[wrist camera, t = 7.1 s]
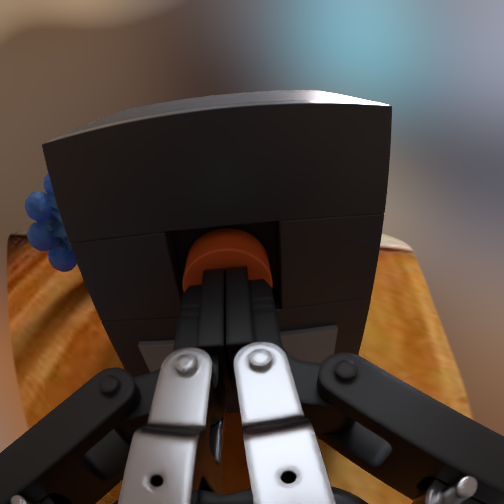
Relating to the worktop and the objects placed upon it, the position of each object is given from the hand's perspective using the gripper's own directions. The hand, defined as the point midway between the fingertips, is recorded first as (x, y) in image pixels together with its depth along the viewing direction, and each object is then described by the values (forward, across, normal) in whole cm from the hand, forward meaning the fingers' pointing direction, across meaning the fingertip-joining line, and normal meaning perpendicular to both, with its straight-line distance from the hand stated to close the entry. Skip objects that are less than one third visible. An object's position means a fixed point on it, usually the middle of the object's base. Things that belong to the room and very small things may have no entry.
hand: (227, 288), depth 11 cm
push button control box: (+6, 0, +10) cm, 12 cm away
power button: (+1, 0, +2) cm, 2 cm away
